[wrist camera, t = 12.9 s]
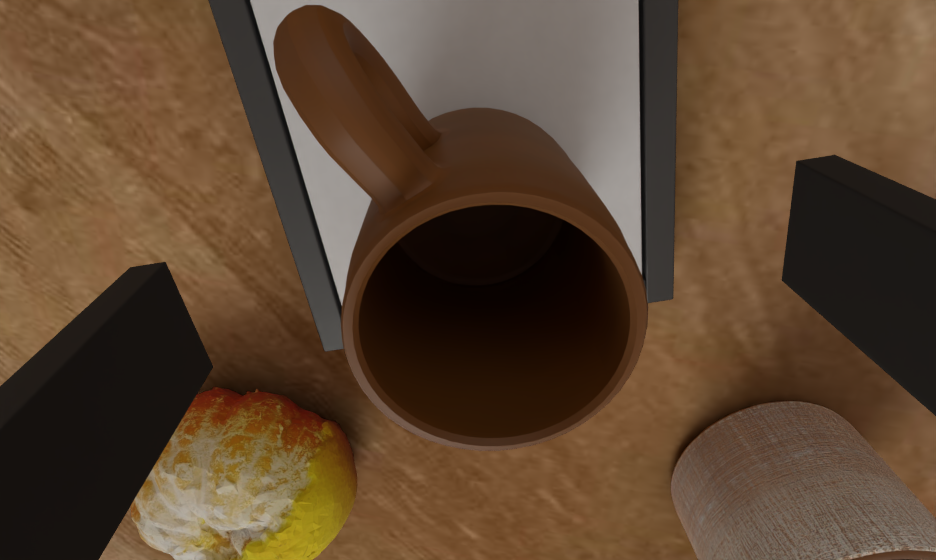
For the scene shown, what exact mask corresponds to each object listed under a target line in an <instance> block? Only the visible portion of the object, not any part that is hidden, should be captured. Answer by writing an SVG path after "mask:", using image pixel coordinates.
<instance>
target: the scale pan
mask: <svg viewBox="0 0 936 560" xmlns="http://www.w3.org/2000/svg"><path fill="white" fill-rule="evenodd" d="M250 2H251V5H252V8H253V12H254V15H255V18H256V22H257V25H258V28H259V32H260V35H261V38H262V42H263V45H264V48H265V52H266V55H267V58H268V62H269V65H270V68H271V72H272V75H273V78H274V82H275V85H276V88H277V92H278V95H279V98H280V102H281V105H282V108H283V112H284V115H285V118H286V122H287V125H288V129H289V132H290V135H291V139H292V142H293V145H294V149H295V152H296V155H297V159H298V162H299V165H300V169H301V172H302V175H303V179H304V182H305V185H306V189H307V192H308V195H309V199H310V202H311V205H312V209H313V212H314V215H315V219H316V222H317V225H318V229H319V232H320V235H321V239H322V242H323V245H324V249H325V252H326V255H327V259H328V262H329V265H330V269H331V272H332V275H333V279H334V282H335V285H336V289H337V292H338V295H339V299H340V302H341V305H342V303H343V298H344V293H345V287H346V279H347V273H348V269H349V264H350V259H351V256H352V252H353V249H354V246H355V243H356V241H357V238H358V235H359V232H360V229H361V227H362V224H363V221H364V218H365V215H366V213H367V210H368V207H369V205H370V202H371V199H372V198H371V197H370V196H369V195H368V194H367V193H366V192H365V191H364V190H363V189H362V188H361V187H360V186H359V185H358V184H357V183H356V182H355V181H354V180H353V179H352V178H351V177H350V176H349V175H348V174H347V173H346V172H345V171H344V170H343V169H342V168H341V167H340V166H339V165H338V164H337V163H336V162H335V161H334V160H333V159H332V158H331V157H330V156H329V155H328V153H327V152H326V151H325V150H324V149H323V147H322V146H321V145H320V144H319V143H318V141H317V140H316V138H315V137H314V136H313V134H312V133H311V131H310V130H309V129H308V127H307V126H306V124H305V123H304V121H303V120H302V119H301V117H300V116H299V114H298V112H297V111H296V109H295V107H294V106H293V104H292V102H291V101H290V99H289V97H288V96H287V94H286V92H285V91H284V89H283V87H282V84H281V81H280V79H279V76H278V74H277V71H276V68H275V60H274V47H273V41H274V37H275V33H276V30H277V27H278V26H279V24H280V23H281V22H282V21H283V19H284V18H285V17H286V16H287V15H288V14H289V13H290V12H292V11H293V10H295V9H298V8H300V7H302V6H304V5H322V6H324V7H327V8H329V9H331V10H334V11H336V12H338V13H340V14H342V15H343V16H344V17H346V18H347V19H348V20H349V21H351V22H352V23H353V24H354V25H355V26H356V27H357V28H358V29H359V30H360V32H361V33H362V34H363V35H364V36H365V37H366V38H367V39H368V41H369V42H370V43H371V44H372V45H373V46H374V47H375V49H376V50H377V51H378V52H379V54H380V55H381V56H382V57H383V58H384V60H385V61H386V63H387V64H388V65H389V67H390V68H391V69H392V71H393V72H394V73H395V75H396V76H397V78H398V79H399V81H400V82H401V83H402V85H403V86H404V88H405V89H406V91H407V92H408V94H409V95H410V97H411V98H412V100H413V101H414V103H415V104H416V105H417V107H418V108H419V110H420V111H421V113H422V114H423V115H424V116H425V118H426V119H427V120H428V121H429V120H430V119H432V118H434V117H437V116H439V115H442V114H444V113H447V112H451V111H455V110H459V109H466V108H493V109H499V110H504V111H507V112H511V113H514V114H517V115H519V116H521V117H524V118H526V119H528V120H530V121H531V122H533V123H534V124H536V125H538V126H539V127H541V128H542V129H543V130H544V131H545V132H546V133H548V134H549V135H550V136H551V137H552V138H553V139H554V140H555V141H556V142H557V143H558V144H559V145H560V147H561V148H562V149H563V150H564V151H565V153H566V154H567V155H568V157H569V158H570V159H571V161H572V162H573V163H574V165H575V166H576V167H577V168H578V169H579V171H580V172H581V173H582V174H583V176H584V177H585V179H586V180H587V181H588V183H589V184H590V185H591V187H592V188H593V189H594V191H595V192H596V194H597V195H598V196H599V198H600V199H601V200H602V202H603V203H604V205H605V206H606V207H607V209H608V210H609V212H610V213H611V215H612V216H613V218H614V220H615V221H616V223H617V224H618V226H619V227H620V229H621V232H622V234H623V236H624V238H625V240H626V243H627V245H628V247H629V249H630V250H631V252H632V254H633V256H634V259H635V261H636V263H637V265H638V267H639V270H640V272H641V274H642V237H641V159H640V80H639V2H638V0H250Z"/></svg>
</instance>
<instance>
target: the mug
mask: <svg viewBox="0 0 936 560" xmlns="http://www.w3.org/2000/svg"><path fill="white" fill-rule="evenodd" d="M273 47H274V60H275V68H276V71H277V74H278V76H279V79H280V81H281V84H282V87H283V89H284V91H285V92H286V94H287V96H288V97H289V99H290V101H291V102H292V104H293V106H294V107H295V109H296V111H297V112H298V114H299V116H300V117H301V119H302V120H303V121H304V123H305V124H306V126H307V127H308V129H309V130H310V131H311V133H312V134H313V136H314V137H315V138H316V140H317V141H318V143H319V144H320V145H321V146H322V147H323V149H324V150H325V151H326V152H327V153H328V155H329V156H330V157H331V158H332V159H333V160H334V161H335V162H336V163H337V164H338V165H339V166H340V167H341V168H342V169H343V170H344V171H345V172H346V173H347V174H348V175H349V176H350V177H351V178H352V179H353V180H354V181H355V182H356V183H357V184H358V185H359V186H360V187H361V188H362V189H363V190H364V191H365V192H366V193H367V194H368V195H369V196H370V197H371V198H372V199H371V202H370V205H369V207H368V210H367V213H366V215H365V218H364V221H363V224H362V227H361V229H360V232H359V235H358V238H357V241H356V243H355V246H354V249H353V252H352V256H351V259H350V264H349V269H348V273H347V279H346V287H345V293H344V298H343V303H342V312H341V333H342V343H343V347H344V351H345V355H346V359H347V361H348V363H349V366H350V368H351V370H352V373H353V375H354V377H355V378H356V380H357V382H358V383H359V385H360V387H361V388H362V390H363V391H364V393H365V394H366V395H367V396H368V398H369V399H370V400H371V401H372V403H373V404H374V405H375V406H376V407H377V408H378V409H379V410H380V411H381V412H383V413H384V414H385V415H386V416H387V417H388V418H390V419H391V420H392V421H394V422H395V423H397V424H398V425H399V426H401V427H403V428H405V429H406V430H408V431H410V432H412V433H413V434H415V435H418V436H420V437H422V438H425V439H427V440H429V441H432V442H436V443H439V444H442V445H446V446H450V447H456V448H461V449H468V450H479V451H499V450H508V449H517V448H522V447H526V446H531V445H535V444H538V443H542V442H545V441H548V440H551V439H553V438H556V437H558V436H560V435H563V434H565V433H567V432H569V431H571V430H572V429H574V428H576V427H578V426H580V425H581V424H583V423H584V422H586V421H587V420H589V419H590V418H591V417H593V416H594V415H596V414H597V413H598V412H599V411H600V410H601V409H603V408H604V407H605V406H606V405H607V404H608V403H609V402H610V401H611V400H612V399H613V398H614V397H615V395H616V394H617V393H618V392H619V391H620V390H621V388H622V387H623V385H624V384H625V383H626V381H627V380H628V378H629V377H630V375H631V373H632V371H633V369H634V367H635V365H636V363H637V361H638V358H639V356H640V353H641V350H642V347H643V344H644V339H645V334H646V329H647V321H648V303H647V294H646V289H645V285H644V281H643V278H642V274H641V272H640V270H639V267H638V265H637V263H636V261H635V259H634V256H633V254H632V252H631V250H630V249H629V247H628V245H627V243H626V240H625V238H624V236H623V234H622V232H621V229H620V227H619V226H618V224H617V223H616V221H615V220H614V218H613V216H612V215H611V213H610V212H609V210H608V209H607V207H606V206H605V205H604V203H603V202H602V200H601V199H600V198H599V196H598V195H597V194H596V192H595V191H594V189H593V188H592V187H591V185H590V184H589V183H588V181H587V180H586V179H585V177H584V176H583V174H582V173H581V172H580V171H579V169H578V168H577V167H576V166H575V165H574V163H573V162H572V161H571V159H570V158H569V157H568V155H567V154H566V153H565V151H564V150H563V149H562V148H561V147H560V145H559V144H558V143H557V142H556V141H555V140H554V139H553V138H552V137H551V136H550V135H549V134H548V133H546V132H545V131H544V130H543V129H542V128H541V127H539V126H538V125H536V124H534V123H533V122H531V121H530V120H528V119H526V118H524V117H521V116H519V115H517V114H514V113H511V112H507V111H504V110H499V109H493V108H466V109H459V110H455V111H451V112H447V113H444V114H442V115H439V116H437V117H434V118H432V119H430V120H429V121H428V120H427V119H426V118H425V116H424V115H423V114H422V113H421V111H420V110H419V108H418V107H417V105H416V104H415V103H414V101H413V100H412V98H411V97H410V95H409V94H408V92H407V91H406V89H405V88H404V86H403V85H402V83H401V82H400V81H399V79H398V78H397V76H396V75H395V73H394V72H393V71H392V69H391V68H390V67H389V65H388V64H387V63H386V61H385V60H384V58H383V57H382V56H381V55H380V54H379V52H378V51H377V50H376V49H375V47H374V46H373V45H372V44H371V43H370V42H369V41H368V39H367V38H366V37H365V36H364V35H363V34H362V33H361V32H360V30H359V29H358V28H357V27H356V26H355V25H354V24H353V23H352V22H351V21H349V20H348V19H347V18H346V17H344V16H343V15H342V14H340V13H338V12H336V11H334V10H331V9H329V8H327V7H324V6H322V5H304V6H302V7H300V8H298V9H295V10H293V11H292V12H290V13H289V14H288V15H287V16H286V17H285V18H284V19H283V21H282V22H281V23H280V24H279V26H278V27H277V30H276V33H275V37H274V41H273Z"/></svg>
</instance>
